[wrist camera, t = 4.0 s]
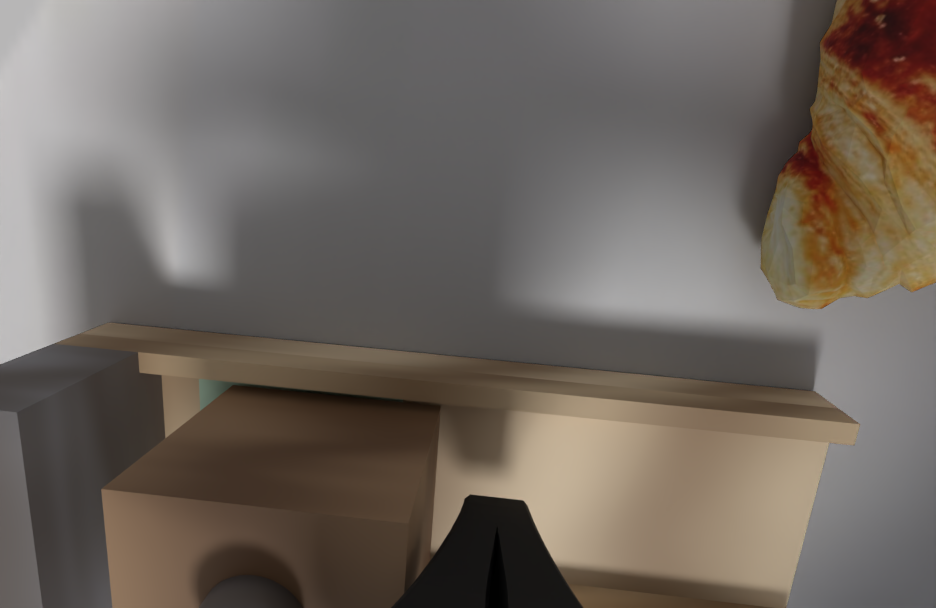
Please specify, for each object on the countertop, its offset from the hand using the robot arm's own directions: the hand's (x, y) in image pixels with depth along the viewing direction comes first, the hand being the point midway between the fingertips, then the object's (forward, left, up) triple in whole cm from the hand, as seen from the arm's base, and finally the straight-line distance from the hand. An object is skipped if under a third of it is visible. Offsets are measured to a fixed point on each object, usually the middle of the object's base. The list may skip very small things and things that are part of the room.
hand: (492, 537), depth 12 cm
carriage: (+4, 0, -2) cm, 4 cm away
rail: (+1, 0, -3) cm, 3 cm away
